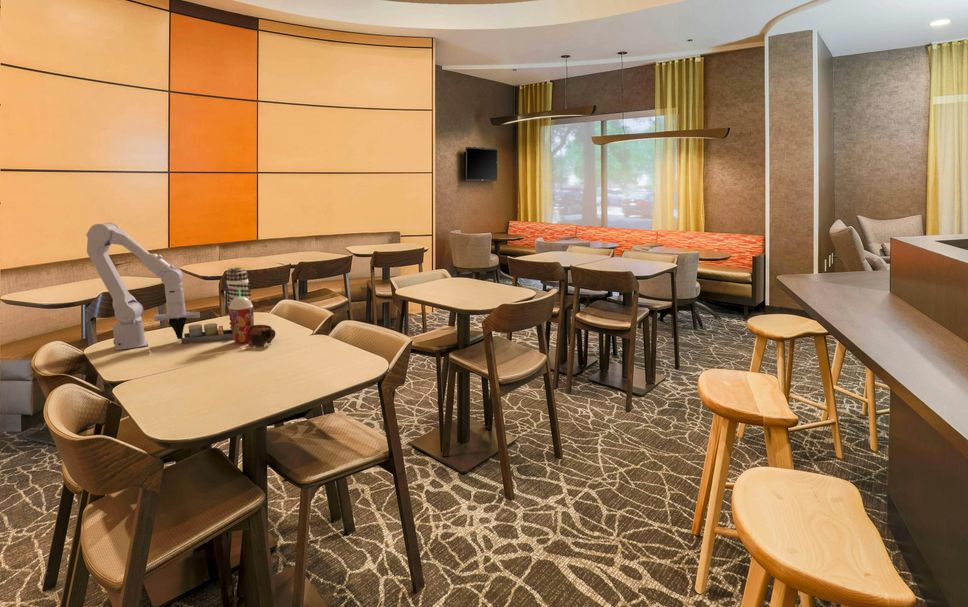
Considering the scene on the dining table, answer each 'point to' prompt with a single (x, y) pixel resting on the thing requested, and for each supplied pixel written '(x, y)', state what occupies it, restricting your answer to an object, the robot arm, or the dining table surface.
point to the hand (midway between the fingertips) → (180, 338)
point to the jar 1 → (195, 330)
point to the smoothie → (241, 318)
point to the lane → (207, 337)
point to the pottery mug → (261, 335)
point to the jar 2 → (211, 329)
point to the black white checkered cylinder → (237, 284)
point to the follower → (220, 330)
